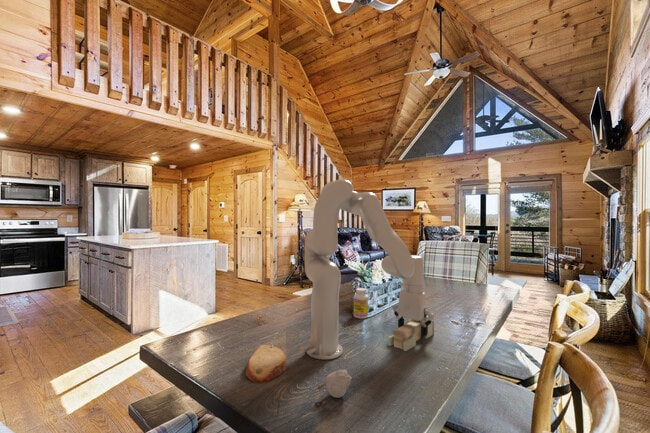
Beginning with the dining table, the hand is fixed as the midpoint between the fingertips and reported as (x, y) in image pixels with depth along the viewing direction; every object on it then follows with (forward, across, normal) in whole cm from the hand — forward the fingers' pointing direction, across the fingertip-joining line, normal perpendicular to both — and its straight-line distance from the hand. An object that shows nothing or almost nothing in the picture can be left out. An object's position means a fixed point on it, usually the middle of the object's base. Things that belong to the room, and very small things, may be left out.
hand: (412, 332), depth 118 cm
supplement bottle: (+3, -30, +6) cm, 31 cm away
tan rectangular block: (+3, 0, -3) cm, 4 cm away
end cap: (+3, 0, +8) cm, 8 cm away
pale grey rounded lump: (+3, +5, -48) cm, 48 cm away
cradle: (+3, 0, -8) cm, 8 cm away
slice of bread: (+3, -23, -51) cm, 56 cm away
